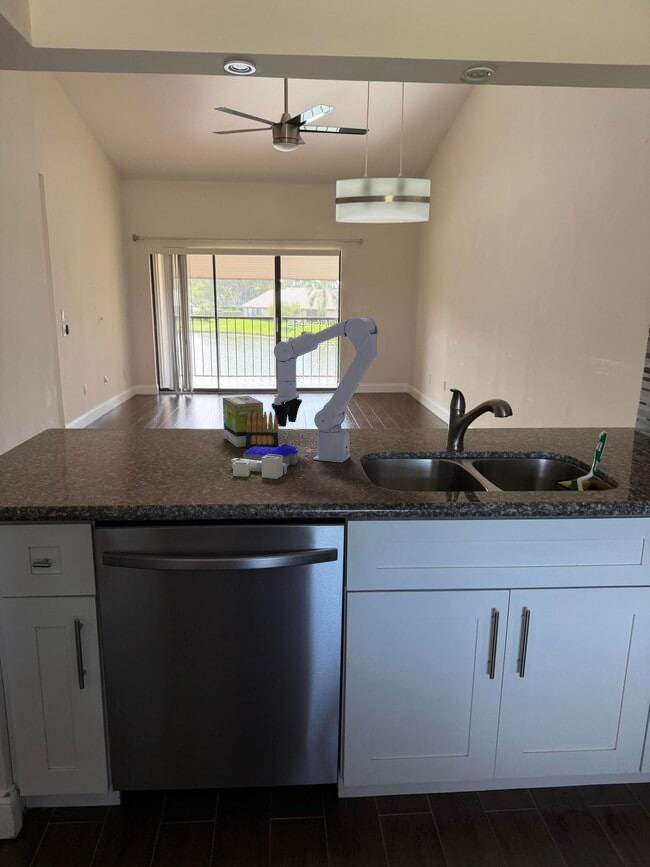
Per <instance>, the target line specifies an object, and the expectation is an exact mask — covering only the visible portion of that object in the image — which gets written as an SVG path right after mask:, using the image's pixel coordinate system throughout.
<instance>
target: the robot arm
mask: <svg viewBox="0 0 650 867" xmlns="http://www.w3.org/2000/svg"><path fill="white" fill-rule="evenodd" d="M379 332H380V331H379V329H378V327H377V324H376V322H375V320H374V319H373V318H371V317H368V316H365V317H351V318H350V319H345V320H342V321H340V322H339V321H338V322H337V323H335V324H332V325H330V326H328V327H326V328H323V329H321V330H320V331H317V332H315V333H314V332H311V331H307V330H304V331H301V332H300V335H297V336H295V337H292V336H291V337H289V338H287V341H279V342H278V343H276V344H275V346H274V349H273V355H274V357H275V358H276V361H277V393H275V394H274V398H273V402H272V403H271V408H272V410H273V411H274V415H275V414H276V417H277V421H278V427H283V428H284V427H285V428H286V427H287V423H296V422H297V417H298V413H299V409H300V408H301V405H302V403H303V400H302V398H300V392H299V391H297V359H298V357H301V356H303V355H306V354H308V353H311V352H313V351H316V350H318V347H319V344H321V343H324V342H326V341H330V340H332V339H336V338H338V337H347V338H348V340H349V341H350V342H351V344H352V345H353V346H354V350H355V352H356V354H355V356H354V358H353V360H352V361H351V363H350V365H349V367H348V369H347V370H346V372H345V374H344V375H343V377H342V378H341V380H340V382H339V384H338V386H337V388H336V389H335V391H334V393H333V394H332V397H331V398H330V399H329V400H328V401H327V402H326V403H325V404H324V405H323V408H321V409H320V410H319V411H317V413H315V415H314V420H313V422H314V425H315V427H316V428H317V455H315V456H314V457H313V458H312V459H313V460H314V461H323V462H335V463H344V462H345V461H346V460H348V459H350V457H351V454H350V450H351V449H350V448H351V447H350V446H351V444H350V443H351V442H350V441H351V437H350V432H348V431H346V430H342V424H343V423H344V422H345V418H346V413H347V411H348V404H349V403H350V401H351V399H352V397H353V396H354V394H355V392H356V390H357V388H358V387H359V386H360V383H361V382H362V380H363V379H364V377H365V376H366V374H367V372H368V371H369V368H370V367H371V365H372V364H373V362H374V360H375V358H376V356H377V350H378V349H377V347H378V335H379ZM287 421H288V422H287Z"/></svg>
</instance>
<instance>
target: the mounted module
mask: <svg viewBox="0 0 650 867" xmlns="http://www.w3.org/2000/svg"><path fill="white" fill-rule="evenodd" d="M282 476H284V475H283V456H282V455H276V454H266V456H264V457H262V472H261V477H262V478H264V479H265V478H266V479H275V480H277V479H279V478H280V477H282Z"/></svg>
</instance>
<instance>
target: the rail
mask: <svg viewBox="0 0 650 867" xmlns="http://www.w3.org/2000/svg"><path fill="white" fill-rule="evenodd" d="M235 461H248V462H250V472H251V471H252V472H256V473H257V472H259V473H262V461H258V460H248V459H243V458H236V457H234V458H232V459H231V460H230V462H231V469H232V470H233V463H234V462H235ZM287 468H288V467H287V464H285V463H283V475H282V476H285V475H286V474H287V472H288V471H287V470H288V469H287Z"/></svg>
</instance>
